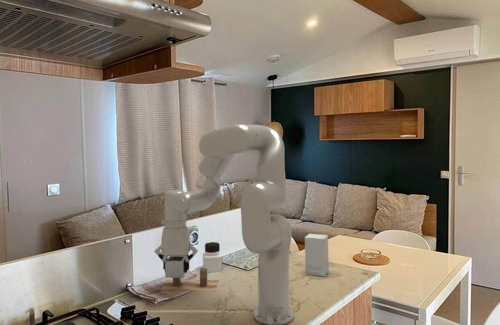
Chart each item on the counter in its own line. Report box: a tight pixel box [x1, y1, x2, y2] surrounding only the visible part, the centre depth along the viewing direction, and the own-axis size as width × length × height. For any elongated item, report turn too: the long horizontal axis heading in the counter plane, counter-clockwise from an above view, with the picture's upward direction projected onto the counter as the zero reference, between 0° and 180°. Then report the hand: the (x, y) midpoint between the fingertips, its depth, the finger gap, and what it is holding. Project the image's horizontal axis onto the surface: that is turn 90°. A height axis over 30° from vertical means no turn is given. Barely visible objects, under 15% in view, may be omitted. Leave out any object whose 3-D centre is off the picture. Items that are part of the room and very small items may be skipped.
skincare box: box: [304, 233, 330, 277], centre depth 156 cm, size 8×7×16 cm
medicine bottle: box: [202, 241, 223, 273], centre depth 159 cm, size 7×7×12 cm
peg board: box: [159, 267, 220, 292], centre depth 141 cm, size 10×20×7 cm, turn 88°
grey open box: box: [164, 256, 187, 279], centre depth 141 cm, size 7×7×6 cm
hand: (176, 271), depth 141 cm, fingers closed on grey open box, 6 cm apart
